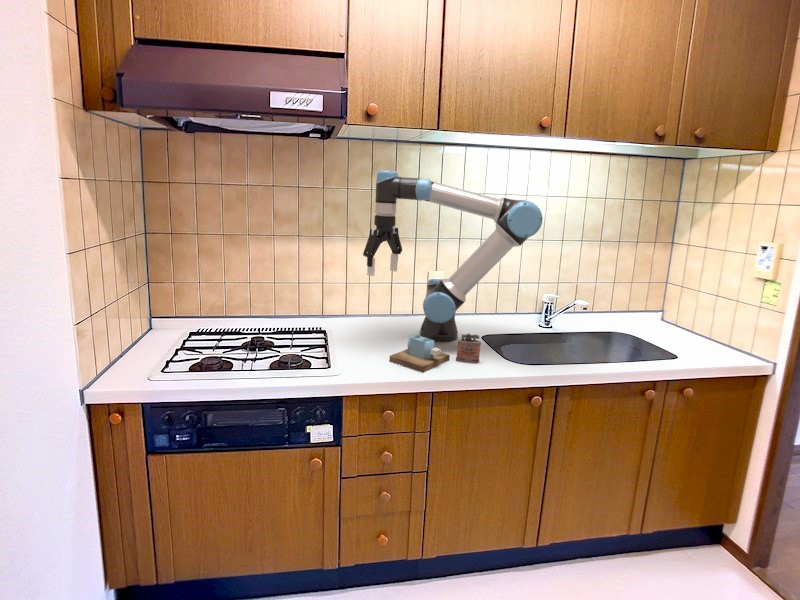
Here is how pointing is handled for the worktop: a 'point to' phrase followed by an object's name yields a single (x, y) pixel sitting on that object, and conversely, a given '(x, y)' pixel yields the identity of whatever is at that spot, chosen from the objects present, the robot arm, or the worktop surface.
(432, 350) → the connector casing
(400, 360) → the walnut board
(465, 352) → the lighter
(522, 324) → the worktop surface
